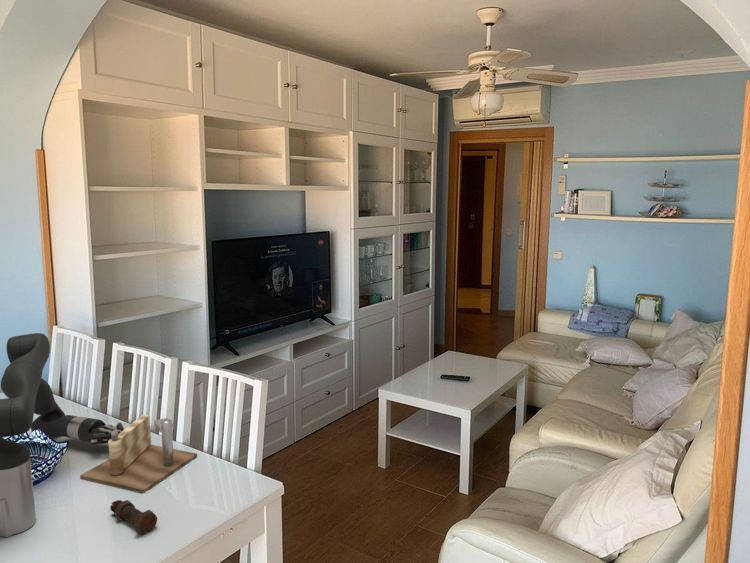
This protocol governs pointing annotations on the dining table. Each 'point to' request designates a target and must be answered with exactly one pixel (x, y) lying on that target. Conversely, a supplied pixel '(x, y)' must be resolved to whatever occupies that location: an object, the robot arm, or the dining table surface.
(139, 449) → the link
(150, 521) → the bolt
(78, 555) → the dining table surface
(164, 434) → the post
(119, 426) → the robot arm
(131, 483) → the hinge base
